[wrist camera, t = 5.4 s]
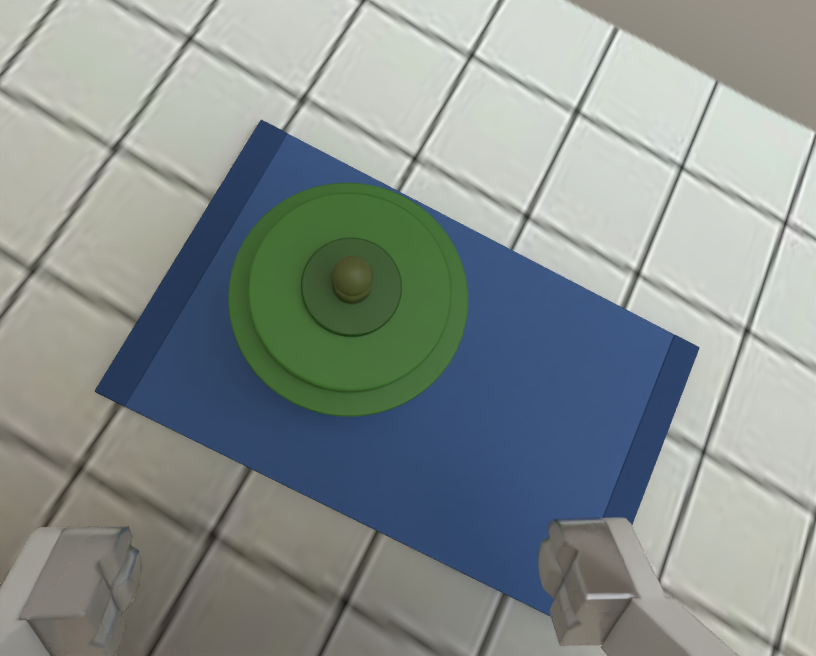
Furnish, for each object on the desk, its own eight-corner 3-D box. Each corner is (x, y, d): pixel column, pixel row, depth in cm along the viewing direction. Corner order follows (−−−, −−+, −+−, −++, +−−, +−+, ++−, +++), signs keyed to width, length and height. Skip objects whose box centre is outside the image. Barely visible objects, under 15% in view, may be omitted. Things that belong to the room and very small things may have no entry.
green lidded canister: (234, 368, 20) (143, 332, 11) (314, 226, 21) (292, 87, 12) (385, 443, 20) (419, 470, 11) (455, 298, 21) (538, 216, 12)
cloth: (99, 391, 19) (93, 391, 19) (262, 124, 21) (260, 118, 21) (585, 631, 20) (590, 636, 20) (693, 348, 22) (700, 347, 22)
